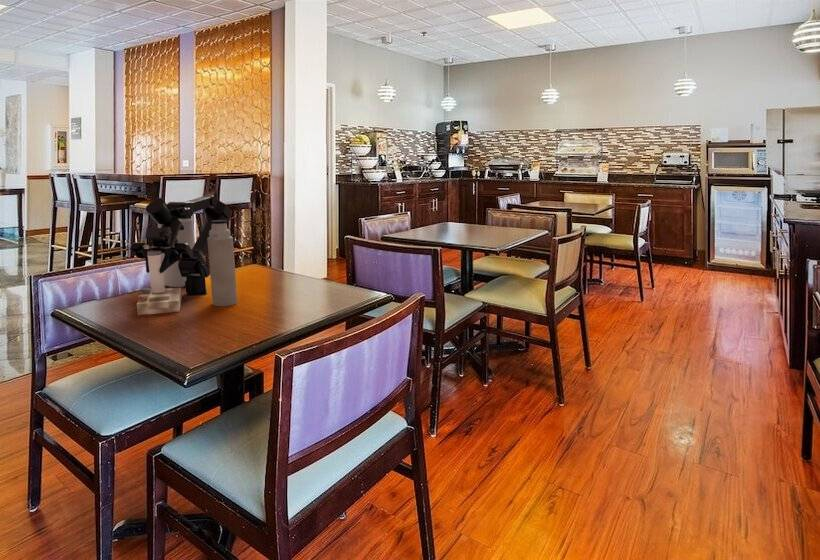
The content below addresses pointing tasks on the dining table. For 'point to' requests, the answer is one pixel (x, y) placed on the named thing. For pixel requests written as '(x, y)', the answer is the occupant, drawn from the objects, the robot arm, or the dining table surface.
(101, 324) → the dining table surface
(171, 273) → the cylinder vase
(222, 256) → the thermos bottle
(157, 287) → the plug
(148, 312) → the socket board
